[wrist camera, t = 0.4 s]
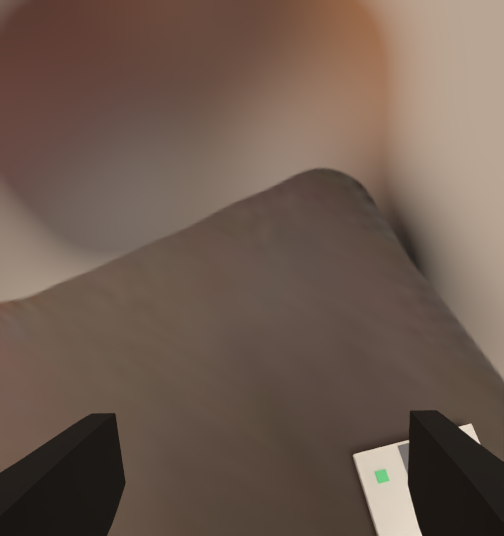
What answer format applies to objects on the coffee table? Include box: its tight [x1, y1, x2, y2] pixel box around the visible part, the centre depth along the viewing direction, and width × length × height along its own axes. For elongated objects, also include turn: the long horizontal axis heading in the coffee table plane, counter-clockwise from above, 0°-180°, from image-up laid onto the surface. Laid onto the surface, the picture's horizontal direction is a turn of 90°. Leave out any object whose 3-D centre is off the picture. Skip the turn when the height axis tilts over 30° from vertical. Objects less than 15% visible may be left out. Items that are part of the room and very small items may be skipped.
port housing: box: [353, 424, 480, 536], centre depth 32 cm, size 12×9×2 cm
